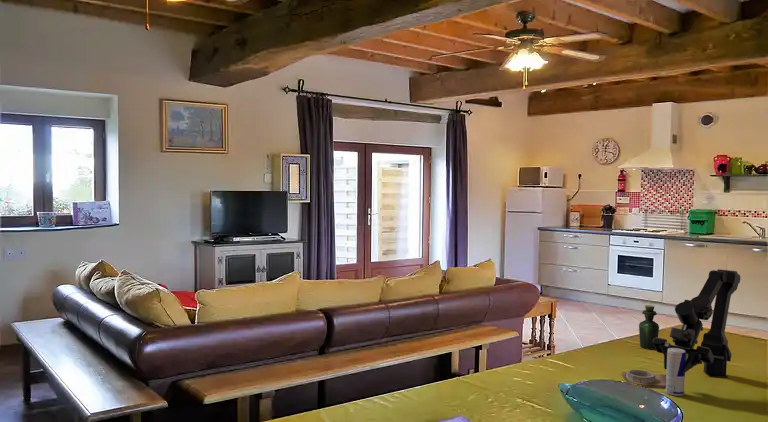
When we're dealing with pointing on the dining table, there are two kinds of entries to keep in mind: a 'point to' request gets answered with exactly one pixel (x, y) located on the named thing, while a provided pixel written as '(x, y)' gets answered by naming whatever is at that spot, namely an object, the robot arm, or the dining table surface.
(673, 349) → the beverage can
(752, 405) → the dining table surface
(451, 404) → the dining table surface
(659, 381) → the board
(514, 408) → the dining table surface
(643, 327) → the potion bottle
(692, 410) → the dining table surface
